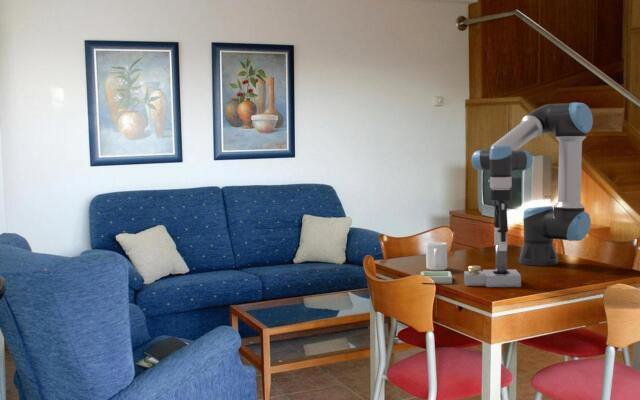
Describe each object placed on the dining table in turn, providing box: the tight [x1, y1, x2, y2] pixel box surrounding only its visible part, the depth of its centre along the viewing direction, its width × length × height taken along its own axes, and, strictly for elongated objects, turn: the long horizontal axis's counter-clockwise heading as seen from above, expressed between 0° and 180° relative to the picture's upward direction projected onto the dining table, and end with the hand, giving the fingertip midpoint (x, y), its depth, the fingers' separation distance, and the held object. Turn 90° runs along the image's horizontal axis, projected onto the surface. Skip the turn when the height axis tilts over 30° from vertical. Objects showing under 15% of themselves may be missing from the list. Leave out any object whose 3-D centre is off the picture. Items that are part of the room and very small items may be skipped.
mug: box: [425, 241, 448, 271], centre depth 305 cm, size 12×8×10 cm
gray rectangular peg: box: [494, 244, 508, 274], centre depth 274 cm, size 4×4×14 cm
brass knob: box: [467, 265, 482, 274], centre depth 275 cm, size 4×4×5 cm
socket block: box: [463, 268, 522, 288], centre depth 275 cm, size 19×12×4 cm, turn 84°
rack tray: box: [420, 270, 453, 285], centre depth 283 cm, size 11×11×2 cm
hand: (500, 248), depth 273 cm, fingers open, 13 cm apart
